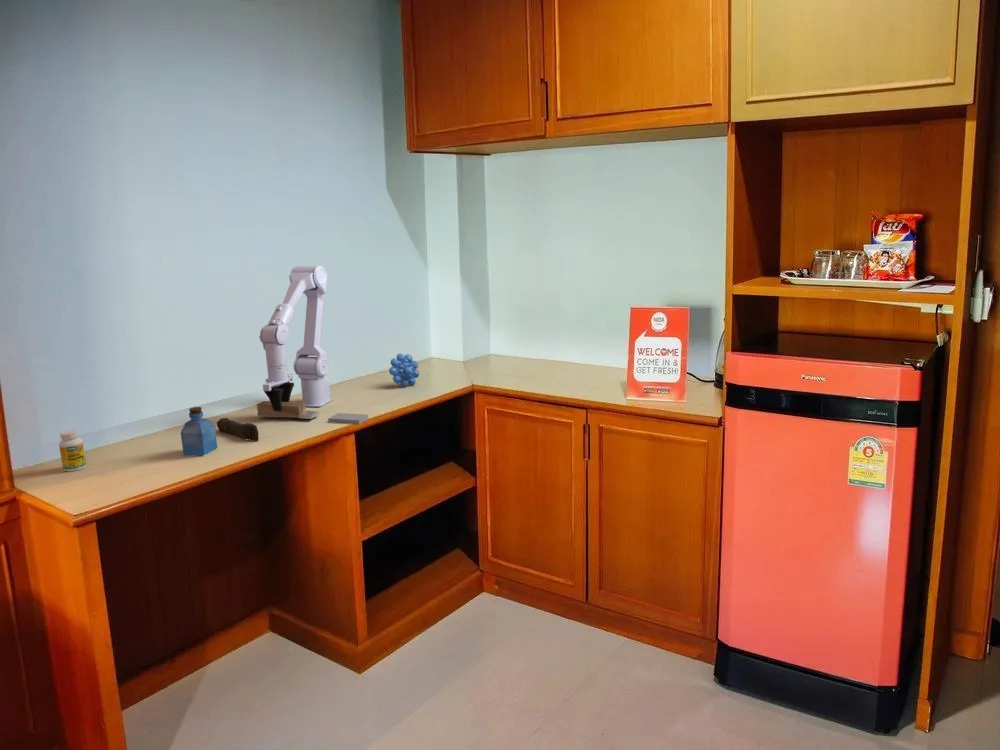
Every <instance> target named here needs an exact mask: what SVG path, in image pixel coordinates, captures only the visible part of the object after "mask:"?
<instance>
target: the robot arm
mask: <svg viewBox="0 0 1000 750" xmlns="http://www.w3.org/2000/svg"><path fill="white" fill-rule="evenodd" d="M288 278H289V287H288V288H287V291H286V294H285V296H284V298H283V301H282V303H281V304H278V305H277V306H275V309H274V311H273V314H272V316H271V317H270V319H269V321H268V323H267V324H266V325H264V326H263V327H262V328H261V330H260V333H259V340H260V342H261V343H262V347H263V350H264V352H265V356H266V357H265V358H266V367H267V377H268V378H266V379H265V382H264V383H263V384H262V391H263V392H264V393H265V395H266V397H267V398H268V399H269V400H268V401H270V402H271V404H272V407H273V410H274V411H281V408H282V402H291V401H290V400H291V394H292V391H293V388H294V386H295V382H293V381H295V377H294V373H289V372H288V363H287V352H286V343H287V341H288V340H289V332H290V328H289V327H290V326H291V323H292V321H293V319H294V317H295V314H296V312H295V310H294V308H295V306H296V305H297V303H298V301H299V299H300V298H301V296H302V295H303V294H305V297H306V309H305V310H306V311H305V321H304V322H305V323H304V337H303V346H301V348H299V349H298V350H297V351H296V356H295V359H294V362H293V371H294V372H295V374H296V375H297V376H298V377H297V378H298V379H300V385H301V386H300V387H301V396H302V397H301V398H302V402H301V403H305V406H306V407H313V408H321V407H322V406H324V405H327V404H329V403H331V401H333V400H334V399H333V398H331V393H330V392H331V390H330V388H331V387H330V381H329V378H328V377H327V376H326V375H327V373H328V371H329V361H328V353H327V352H326V351H325V350H324V349H322V347H321V345H322V344H321V343H322V331H323V318H324V307H325V294H326V292H327V283H328V282H327V281H328V274H327V272H326V271H325V268H324V267H323V266H322V265H317V266H315V265H313V266H309V265H307V266H303V265H302V266H300V265H299V266H298V265H295V266H293V267H292V269H291V271H290V273H289V276H288ZM291 381H292V382H291Z"/></svg>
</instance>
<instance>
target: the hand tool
mask: <svg viewBox="0 0 1000 750" xmlns="http://www.w3.org/2000/svg"><path fill="white" fill-rule="evenodd" d="M216 426H217V428H218V429H217V430H218V431H219V432H222V433H224V432H227V433H231V434H232V435H236V436H240V437H242V438H243V439H244V438H245V439H248V440H247V441H251V440H254V441H255V442H258V441H259V440H260V439H259V438H260V437H259V429H258V425H256V424H253V423H252V422H249V423H248V422H246V423H241V422H237V421H234V420H232V419H229V418H228V417H222V418H220V419H218V421H217V422H216ZM223 431H224V432H223ZM245 439H244V440H245ZM249 439H250V440H249ZM254 441H253V442H254Z"/></svg>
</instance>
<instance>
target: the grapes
mask: <svg viewBox="0 0 1000 750" xmlns="http://www.w3.org/2000/svg"><path fill="white" fill-rule="evenodd" d="M390 365H391V367H389V369H388V370H389V374H390V375H391V376H393V377H392V380H393V382H394V383H395V384H400V386H401V387H403V388H406V387H408V386H409V385H411V386H413V385H415V384H416V382H417V381H416V379H417V378H419V376H420V371H419V370H418V368H419V364H418V362H417V360H413V356H412V355H411V354H408V353H407V354H405V355H404V354H403V353H398V354H396V358H394V357H393V358H391V359H390Z"/></svg>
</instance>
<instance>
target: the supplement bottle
mask: <svg viewBox="0 0 1000 750" xmlns="http://www.w3.org/2000/svg"><path fill="white" fill-rule="evenodd" d="M59 435H60V437H59V438H60V439H61V440H60V442H59V445H58V447H59V453H60V458H61V459H60V460H61V463H62V470H63V471H65V472H77V471H80V470H84V469H85V468H86V467H87V460H86V454H85V448H84V443H83V439H81V438H80V437H79V431H78V430H76V429H74V430H73V429H70V430H65V431H62V432H60V433H59Z"/></svg>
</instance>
